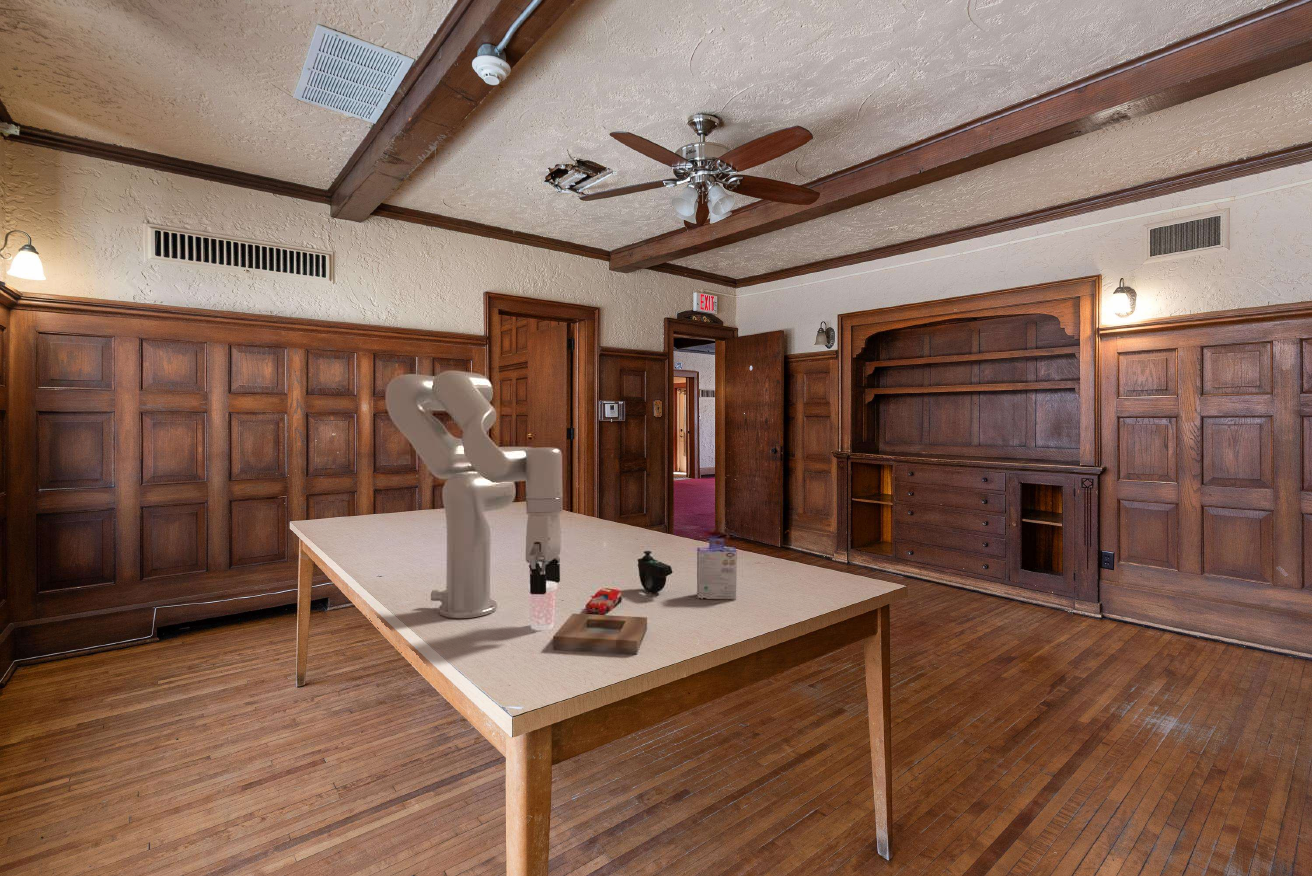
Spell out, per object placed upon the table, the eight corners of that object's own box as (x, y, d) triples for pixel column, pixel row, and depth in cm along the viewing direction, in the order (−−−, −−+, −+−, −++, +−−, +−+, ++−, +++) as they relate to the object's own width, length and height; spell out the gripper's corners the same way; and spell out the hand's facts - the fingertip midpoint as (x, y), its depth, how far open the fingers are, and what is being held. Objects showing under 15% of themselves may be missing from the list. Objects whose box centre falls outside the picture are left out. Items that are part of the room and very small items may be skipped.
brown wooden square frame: (553, 649, 110) (553, 636, 110) (572, 625, 124) (572, 613, 124) (636, 654, 109) (637, 640, 109) (647, 629, 122) (647, 617, 122)
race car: (603, 618, 131) (604, 600, 130) (581, 615, 132) (581, 597, 132) (625, 601, 143) (625, 585, 143) (605, 599, 145) (605, 583, 145)
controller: (648, 586, 157) (649, 548, 157) (674, 597, 146) (674, 557, 146) (634, 588, 155) (635, 550, 154) (659, 599, 144) (660, 559, 144)
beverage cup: (547, 633, 119) (548, 564, 119) (521, 629, 121) (522, 562, 121) (562, 624, 125) (562, 558, 125) (536, 620, 127) (537, 556, 127)
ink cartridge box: (734, 594, 150) (735, 537, 150) (737, 600, 145) (738, 541, 145) (696, 593, 150) (696, 537, 150) (697, 599, 145) (698, 541, 145)
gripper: (540, 502, 132) (541, 578, 132) (512, 511, 115) (513, 598, 114) (572, 501, 131) (573, 578, 131) (549, 511, 114) (550, 599, 114)
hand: (545, 587), depth 123 cm, fingers open, 9 cm apart
